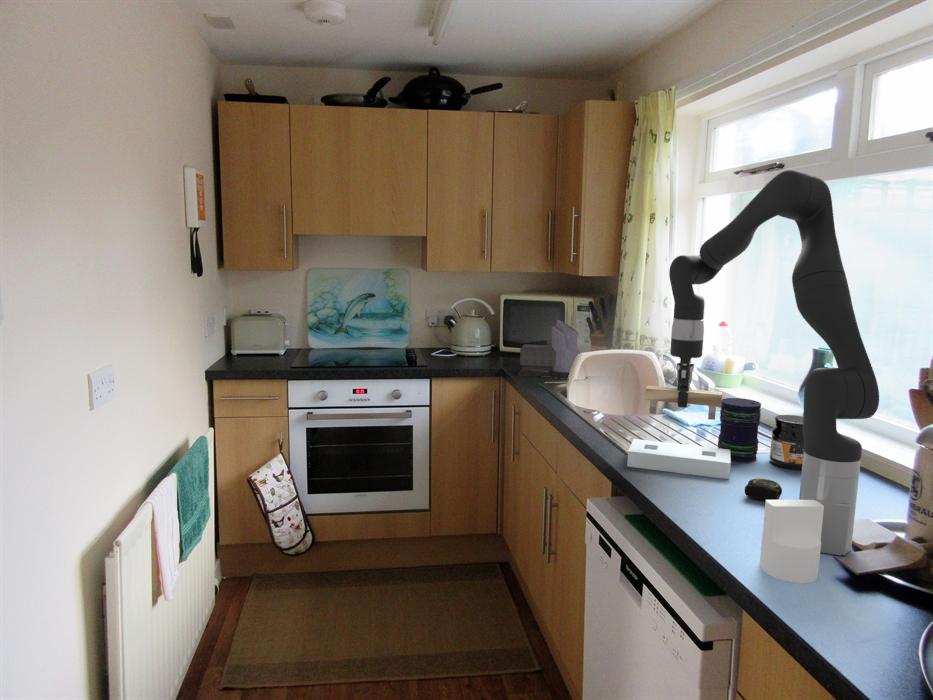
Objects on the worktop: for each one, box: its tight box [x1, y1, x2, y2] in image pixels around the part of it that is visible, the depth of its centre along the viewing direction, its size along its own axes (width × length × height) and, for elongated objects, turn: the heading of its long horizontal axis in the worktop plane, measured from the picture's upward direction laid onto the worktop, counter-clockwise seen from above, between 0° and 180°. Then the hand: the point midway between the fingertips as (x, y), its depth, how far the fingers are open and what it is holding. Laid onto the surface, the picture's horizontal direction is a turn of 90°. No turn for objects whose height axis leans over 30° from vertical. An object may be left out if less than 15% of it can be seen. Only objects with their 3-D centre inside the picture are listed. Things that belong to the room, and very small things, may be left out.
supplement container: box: [768, 414, 804, 471], centre depth 172 cm, size 10×10×12 cm
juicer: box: [517, 319, 582, 379], centre depth 289 cm, size 30×16×24 cm, turn 79°
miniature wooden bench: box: [644, 385, 723, 421], centre depth 168 cm, size 4×18×6 cm, turn 69°
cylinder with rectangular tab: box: [759, 499, 824, 584], centre depth 114 cm, size 9×9×12 cm
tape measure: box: [744, 478, 783, 502], centre depth 148 cm, size 7×7×4 cm
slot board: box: [626, 438, 732, 480], centre depth 170 cm, size 12×24×4 cm, turn 69°
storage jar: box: [717, 397, 762, 464], centre depth 177 cm, size 10×10×15 cm
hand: (682, 405), depth 168 cm, fingers closed on miniature wooden bench, 3 cm apart
